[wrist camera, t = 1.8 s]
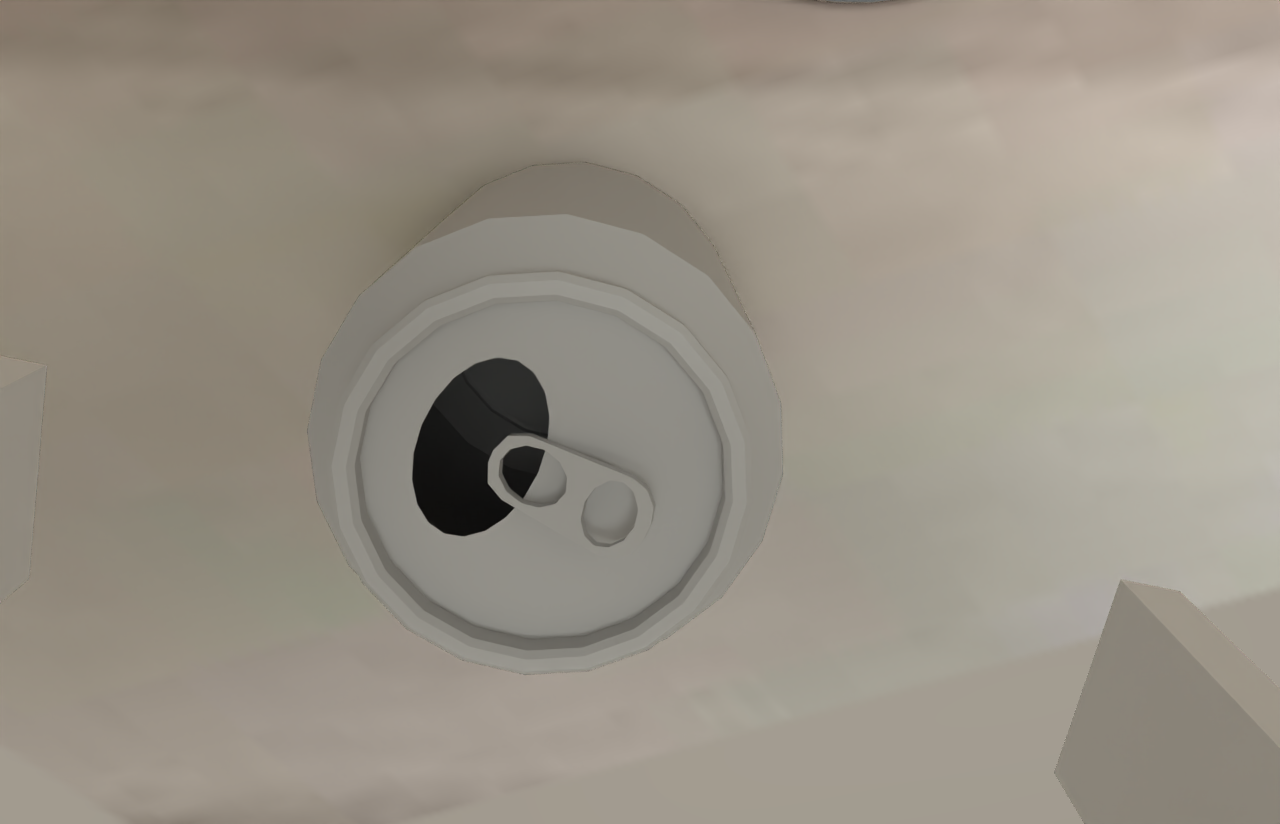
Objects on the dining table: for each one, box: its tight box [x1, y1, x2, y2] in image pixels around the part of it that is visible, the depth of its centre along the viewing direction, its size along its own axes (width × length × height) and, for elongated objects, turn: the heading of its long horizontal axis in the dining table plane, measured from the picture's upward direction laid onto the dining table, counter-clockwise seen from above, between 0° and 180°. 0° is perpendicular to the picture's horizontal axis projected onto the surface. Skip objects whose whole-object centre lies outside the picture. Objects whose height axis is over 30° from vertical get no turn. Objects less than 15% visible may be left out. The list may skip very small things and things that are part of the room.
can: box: [307, 162, 783, 675], centre depth 23 cm, size 8×8×12 cm
